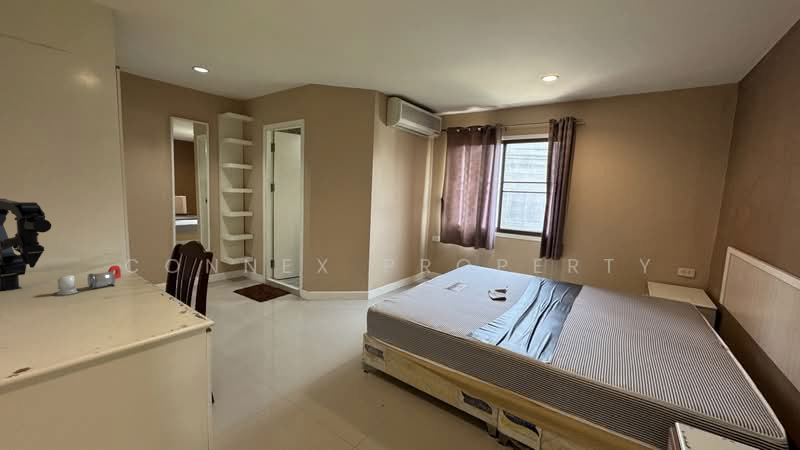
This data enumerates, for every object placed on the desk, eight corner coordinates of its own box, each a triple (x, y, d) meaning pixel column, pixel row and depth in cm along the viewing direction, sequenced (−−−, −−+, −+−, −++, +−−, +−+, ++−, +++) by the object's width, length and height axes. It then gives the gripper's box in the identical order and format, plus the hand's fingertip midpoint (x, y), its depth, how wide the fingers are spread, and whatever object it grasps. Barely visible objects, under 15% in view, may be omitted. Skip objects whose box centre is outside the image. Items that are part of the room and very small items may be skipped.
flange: (50, 293, 141) (50, 292, 141) (78, 288, 149) (78, 287, 149) (56, 297, 137) (56, 296, 137) (84, 292, 144) (84, 291, 144)
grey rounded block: (87, 287, 152) (86, 272, 151) (108, 284, 158) (108, 269, 158) (93, 290, 147) (93, 275, 147) (115, 287, 154) (115, 272, 153)
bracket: (111, 278, 168) (111, 264, 167) (120, 279, 168) (120, 264, 167) (91, 285, 156) (91, 269, 155) (102, 285, 156) (101, 269, 156)
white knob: (74, 289, 147) (73, 274, 146) (77, 291, 144) (77, 276, 143) (56, 292, 142) (55, 276, 141) (60, 294, 139) (59, 278, 138)
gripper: (-7, 230, 137) (-5, 265, 138) (2, 234, 127) (5, 272, 129) (32, 228, 146) (34, 261, 148) (43, 232, 137) (45, 268, 138)
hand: (29, 265), depth 140 cm, fingers open, 9 cm apart
